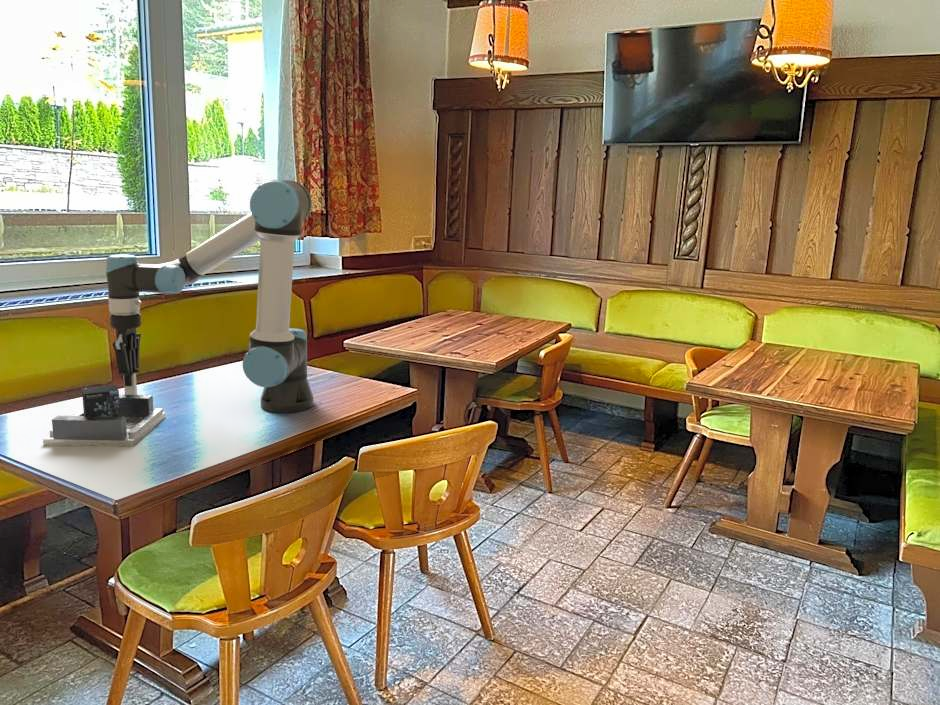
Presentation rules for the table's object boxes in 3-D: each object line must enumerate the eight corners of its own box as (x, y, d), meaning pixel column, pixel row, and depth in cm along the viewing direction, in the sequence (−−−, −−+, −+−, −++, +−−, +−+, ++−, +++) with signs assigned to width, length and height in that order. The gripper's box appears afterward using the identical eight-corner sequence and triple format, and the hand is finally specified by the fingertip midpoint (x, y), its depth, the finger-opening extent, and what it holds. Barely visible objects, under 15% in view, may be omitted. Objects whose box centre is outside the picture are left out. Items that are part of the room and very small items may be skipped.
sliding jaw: (153, 412, 190) (152, 395, 189) (149, 416, 187) (148, 398, 186) (92, 411, 189) (91, 393, 188) (87, 415, 186) (85, 397, 185)
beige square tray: (165, 417, 192) (164, 394, 191) (133, 446, 171) (131, 421, 169) (86, 415, 191) (84, 392, 189) (43, 445, 169) (40, 419, 168)
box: (87, 434, 173) (83, 393, 171) (84, 427, 178) (81, 387, 175) (122, 429, 177) (119, 389, 175) (119, 423, 182) (116, 383, 179)
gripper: (129, 317, 183) (135, 403, 188) (148, 308, 196) (153, 389, 201) (99, 316, 182) (106, 403, 188) (121, 308, 195) (127, 389, 201)
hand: (131, 396), depth 195 cm, fingers closed
